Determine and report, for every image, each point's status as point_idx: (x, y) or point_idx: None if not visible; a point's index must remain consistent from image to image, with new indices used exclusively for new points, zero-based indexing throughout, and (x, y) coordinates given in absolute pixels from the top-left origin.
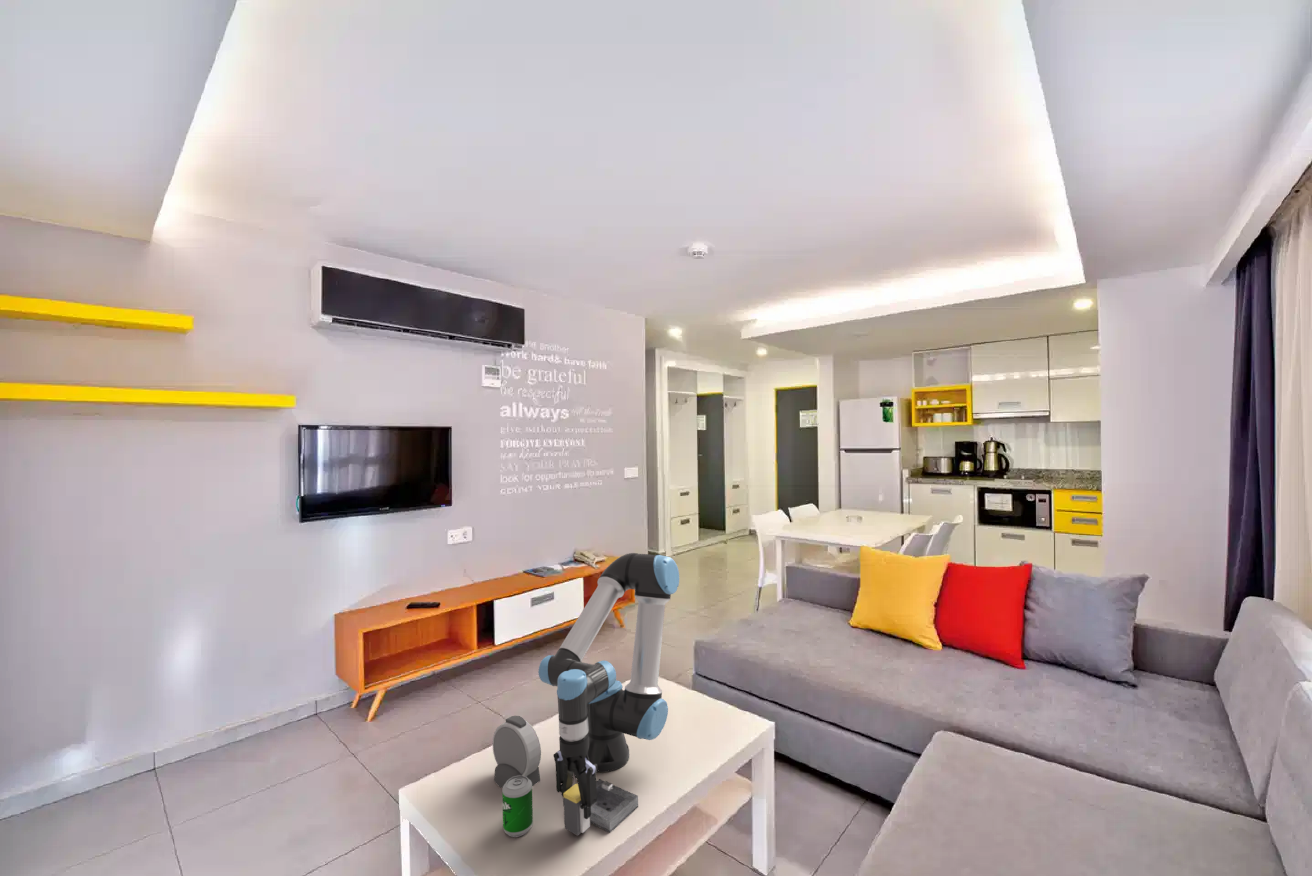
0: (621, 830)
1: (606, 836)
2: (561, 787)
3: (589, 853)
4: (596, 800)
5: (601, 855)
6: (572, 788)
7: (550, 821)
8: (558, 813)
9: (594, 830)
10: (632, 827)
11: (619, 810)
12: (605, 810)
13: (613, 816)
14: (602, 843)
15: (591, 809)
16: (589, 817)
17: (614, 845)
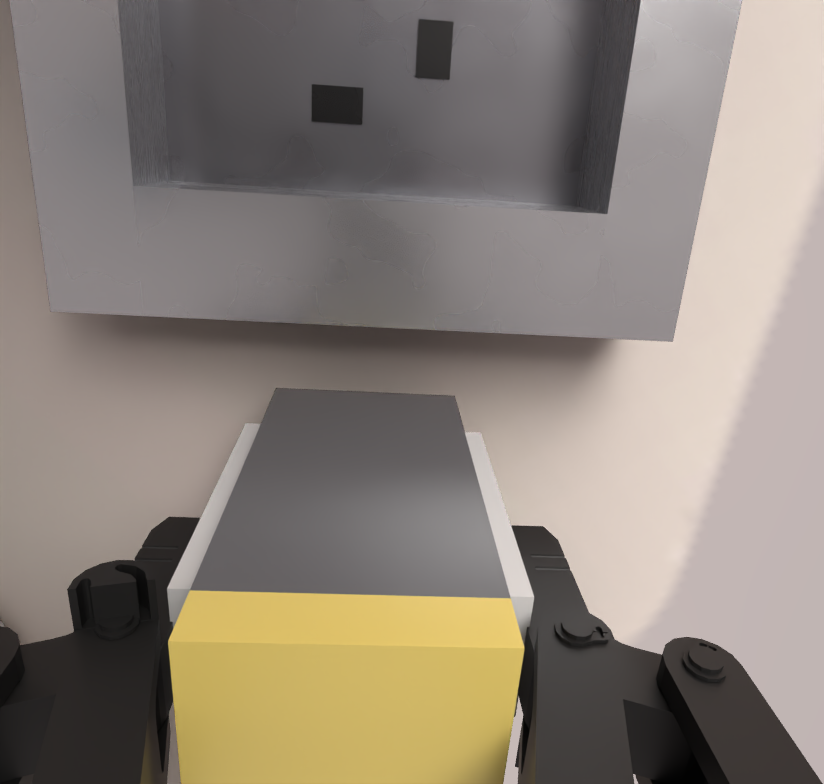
0: (711, 226)
1: (620, 359)
2: (11, 773)
3: (594, 561)
4: (740, 680)
5: (690, 533)
6: (226, 759)
7: (50, 462)
8: (14, 348)
9: (478, 354)
10: (797, 132)
11: (696, 131)
12: (538, 224)
13: (680, 262)
14: (631, 438)
15: (376, 294)
16: (495, 479)
17: (736, 407)
